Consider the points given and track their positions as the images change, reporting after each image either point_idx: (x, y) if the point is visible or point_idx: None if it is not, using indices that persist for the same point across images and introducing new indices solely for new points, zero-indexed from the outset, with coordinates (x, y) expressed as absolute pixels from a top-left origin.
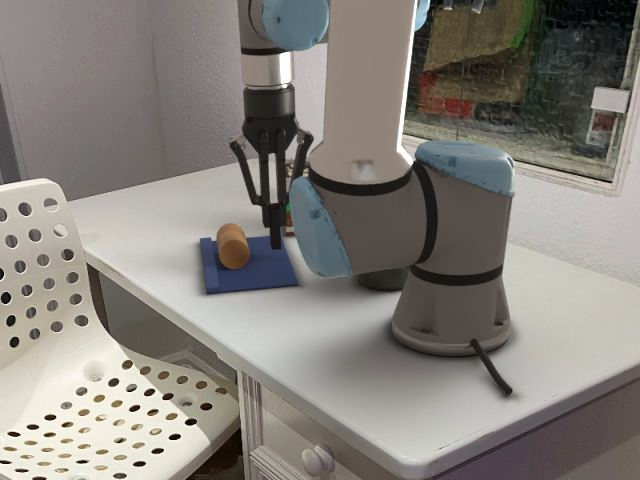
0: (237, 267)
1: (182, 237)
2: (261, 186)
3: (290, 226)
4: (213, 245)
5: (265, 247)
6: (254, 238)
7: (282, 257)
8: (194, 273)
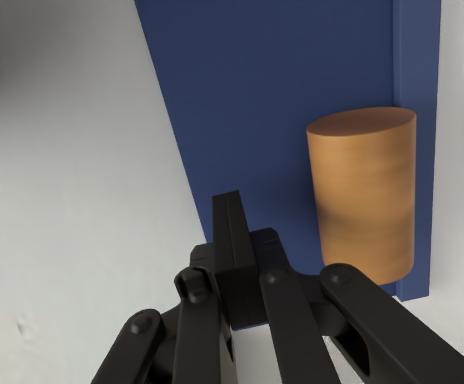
0: (334, 114)
1: (456, 319)
2: (325, 350)
3: None
4: None
5: None
6: None
7: (211, 199)
8: (451, 100)
